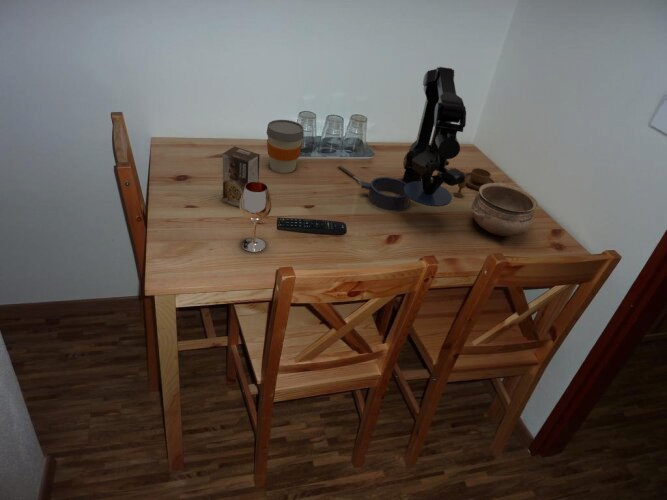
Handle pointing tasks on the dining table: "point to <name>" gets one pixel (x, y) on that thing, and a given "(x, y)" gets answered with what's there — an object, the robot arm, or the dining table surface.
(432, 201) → the lid
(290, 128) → the reusable coffee cup
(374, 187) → the saucepan
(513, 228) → the cooking pot
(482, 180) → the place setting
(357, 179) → the fork
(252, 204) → the wineglass
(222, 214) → the dining table surface
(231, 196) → the coffee box
